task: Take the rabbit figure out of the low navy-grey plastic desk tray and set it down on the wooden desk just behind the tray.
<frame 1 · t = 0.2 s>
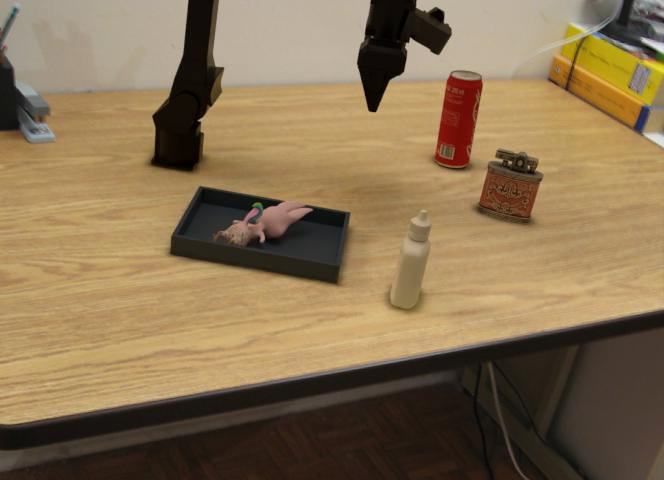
hand: (374, 100, 123), 15 cm above the table, tool pointing down, fingers open, 9 cm apart
beverage can: (448, 163, 146), on the table
eye dropper bottle: (403, 299, 107), on the table
desk tray: (263, 240, 115), on the table
lighter: (502, 215, 131), on the table
rabbit figure: (263, 239, 115), resting on desk tray
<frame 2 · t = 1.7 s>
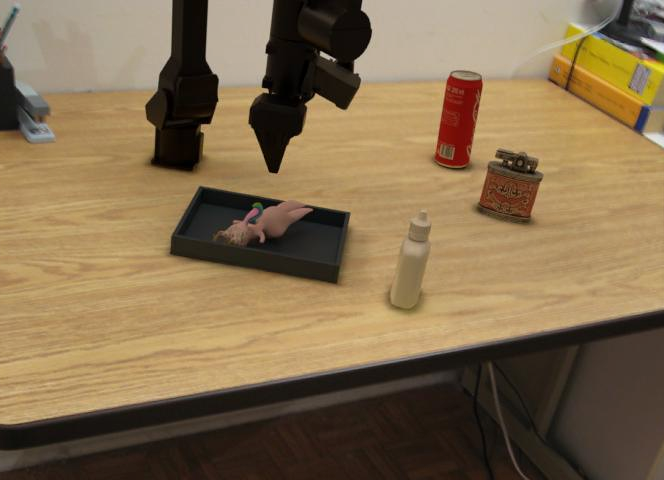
hand: (278, 158, 110), 11 cm above the table, tool pointing down, fingers open, 9 cm apart
nothing on the table moved.
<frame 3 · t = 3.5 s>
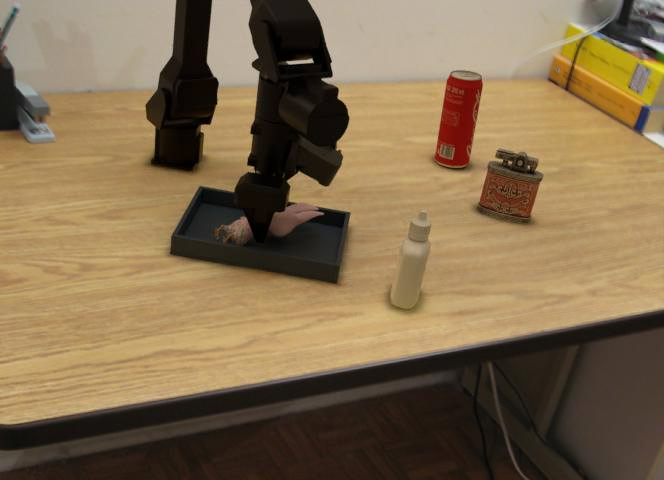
hand: (264, 229, 114), 2 cm above the table, tool pointing down, fingers closed on rabbit figure, 7 cm apart
rabbit figure: (269, 238, 115), resting on desk tray, touching gripper
everything else where it was.
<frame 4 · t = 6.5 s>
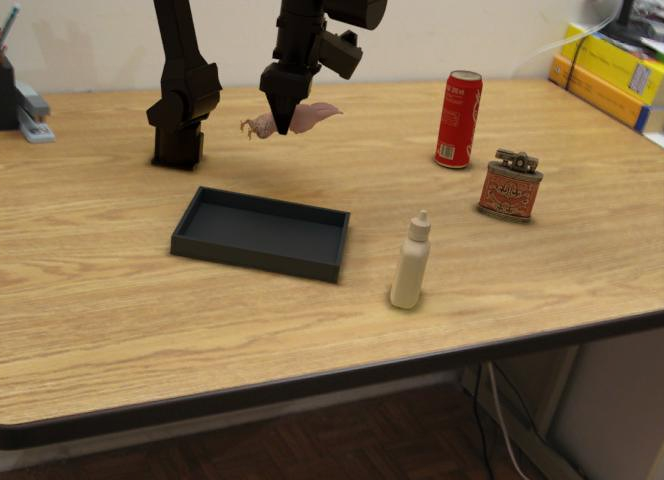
hand: (287, 124, 120), 11 cm above the table, tool pointing down, fingers closed on rabbit figure, 7 cm apart
rabbit figure: (291, 134, 121), point 10 cm above the table, touching gripper
everything else where it was.
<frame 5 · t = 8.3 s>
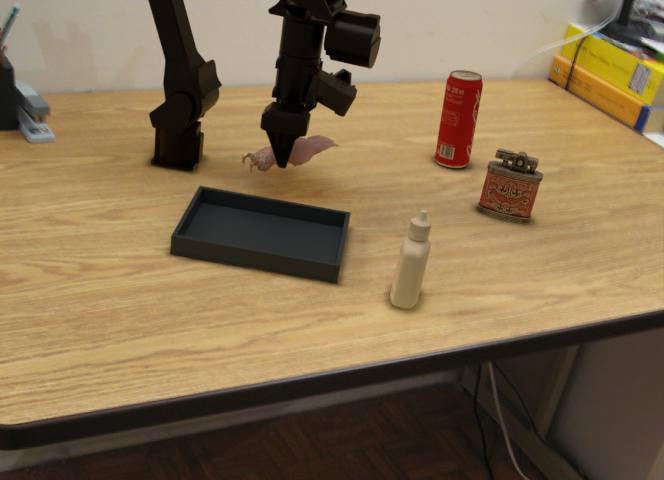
hand: (285, 157, 127), 5 cm above the table, tool pointing down, fingers closed on rabbit figure, 7 cm apart
rabbit figure: (289, 166, 128), point 3 cm above the table, touching gripper
everything else where it was.
when the fingers open (1 cm above the table, at t = 9.8 s): rabbit figure stays where it is, on the table.
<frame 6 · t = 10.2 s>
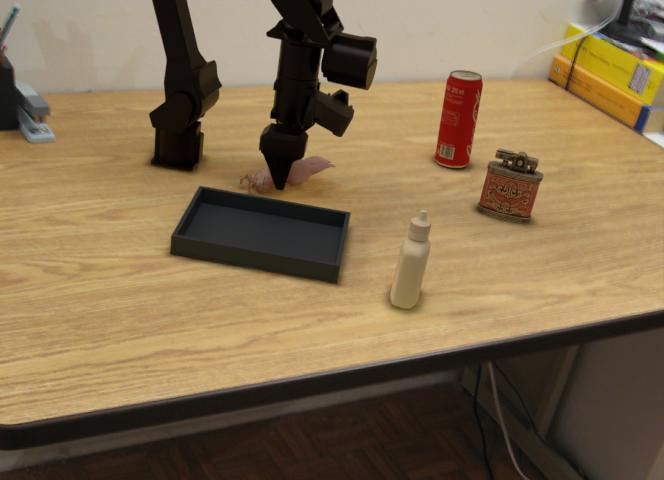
hand: (284, 177, 128), 2 cm above the table, tool pointing down, fingers open, 9 cm apart
rabbit figure: (287, 187, 130), on the table
everything else where it was.
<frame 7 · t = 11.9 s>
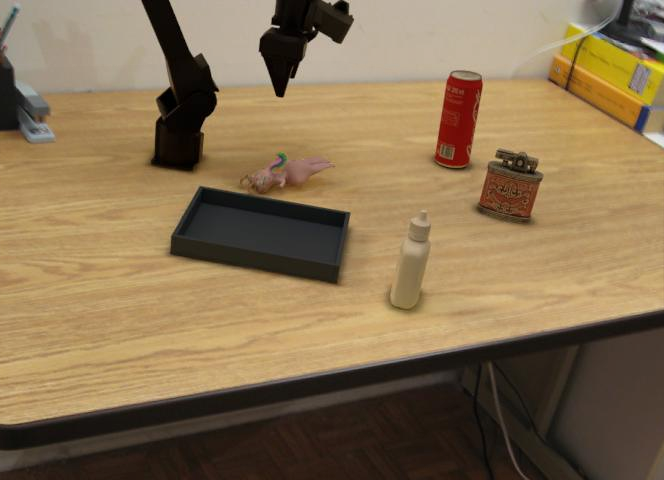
hand: (285, 87, 131), 12 cm above the table, tool pointing down, fingers open, 9 cm apart
nothing on the table moved.
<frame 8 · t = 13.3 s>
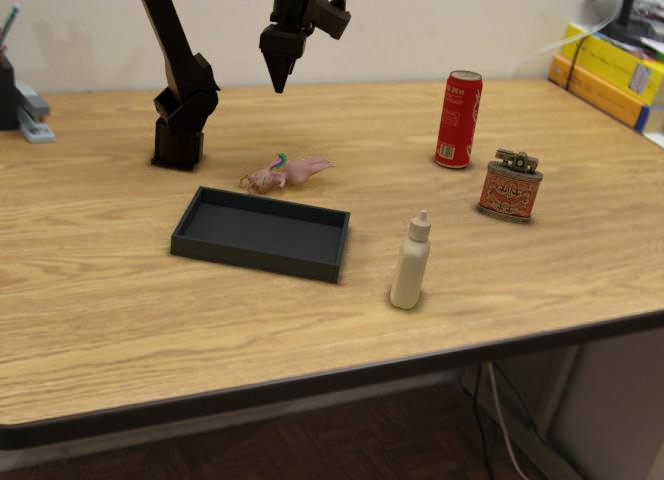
hand: (283, 83, 132), 12 cm above the table, tool pointing down, fingers open, 9 cm apart
nothing on the table moved.
at the end: rabbit figure inside the target area (1.1 cm from its centre), on the table; the gripper is holding nothing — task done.
